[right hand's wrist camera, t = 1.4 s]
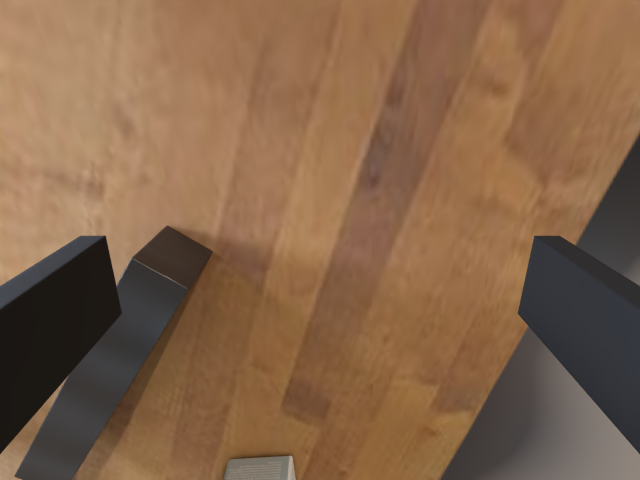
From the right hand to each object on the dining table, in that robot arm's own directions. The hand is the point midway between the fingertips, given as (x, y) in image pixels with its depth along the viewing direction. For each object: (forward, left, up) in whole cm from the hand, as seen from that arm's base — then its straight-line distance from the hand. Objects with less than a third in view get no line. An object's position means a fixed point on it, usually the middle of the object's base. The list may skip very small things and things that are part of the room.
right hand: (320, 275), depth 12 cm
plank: (-6, -25, -21) cm, 33 cm away
